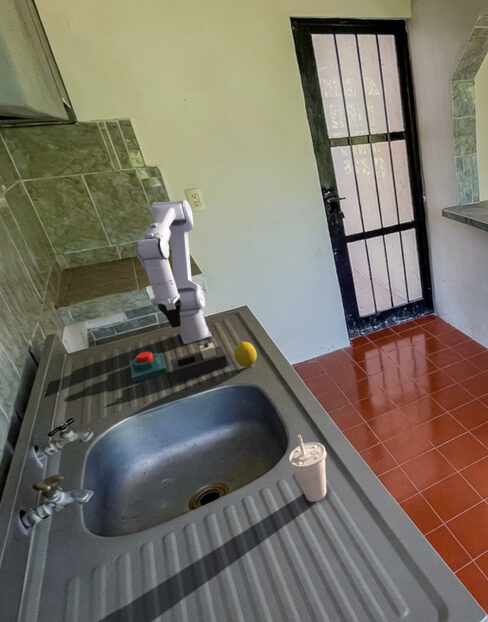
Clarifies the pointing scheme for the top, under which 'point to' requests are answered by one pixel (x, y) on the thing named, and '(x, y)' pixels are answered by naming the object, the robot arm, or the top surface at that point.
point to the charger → (207, 350)
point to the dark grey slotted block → (197, 364)
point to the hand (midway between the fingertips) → (176, 326)
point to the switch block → (148, 368)
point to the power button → (144, 357)
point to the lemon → (245, 354)
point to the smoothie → (310, 469)
